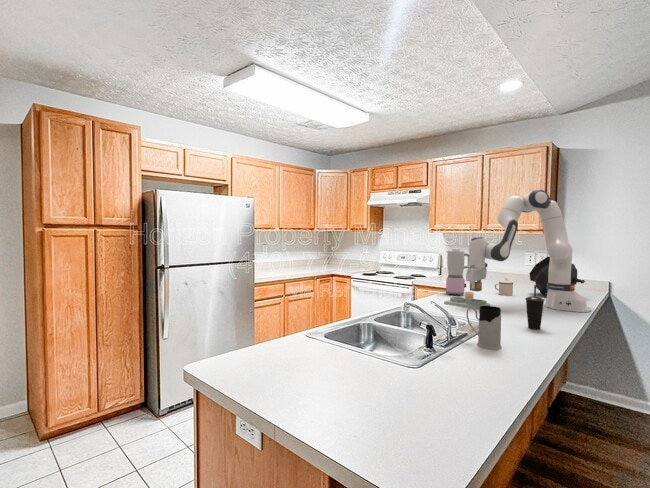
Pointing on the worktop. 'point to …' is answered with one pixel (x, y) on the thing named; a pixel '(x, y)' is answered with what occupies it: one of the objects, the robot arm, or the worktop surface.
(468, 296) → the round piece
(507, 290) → the teacup with lid
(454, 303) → the shape board
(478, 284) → the square piece
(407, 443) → the worktop surface
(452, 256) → the blender
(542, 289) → the wok
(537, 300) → the drinking cup
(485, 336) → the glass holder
